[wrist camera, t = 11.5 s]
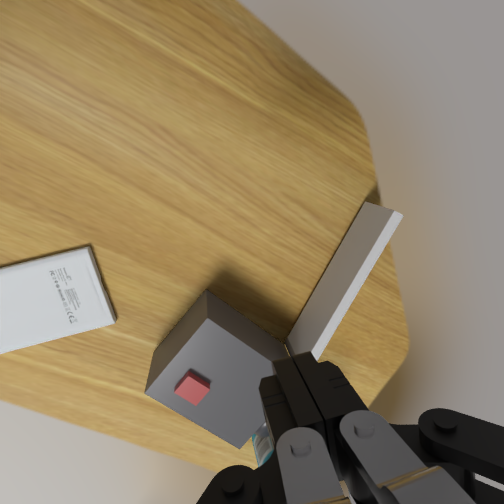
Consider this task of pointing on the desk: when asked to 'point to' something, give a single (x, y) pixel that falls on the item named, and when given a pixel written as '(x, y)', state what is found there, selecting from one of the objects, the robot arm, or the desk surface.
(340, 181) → the desk surface
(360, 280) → the door
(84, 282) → the external hard drive
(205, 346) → the camera body
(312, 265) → the desk surface
